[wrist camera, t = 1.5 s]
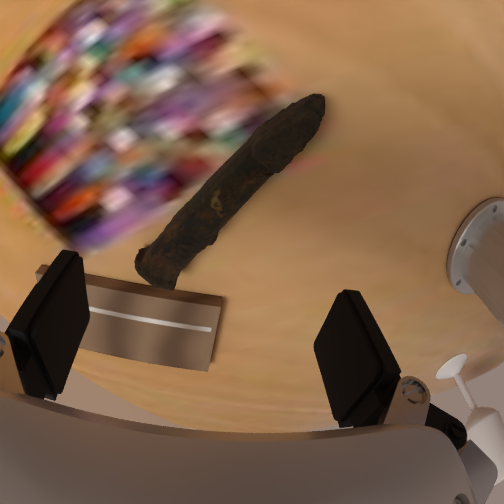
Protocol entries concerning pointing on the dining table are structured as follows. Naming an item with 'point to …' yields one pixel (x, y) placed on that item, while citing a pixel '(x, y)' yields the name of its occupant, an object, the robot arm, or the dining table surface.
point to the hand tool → (229, 191)
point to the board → (149, 323)
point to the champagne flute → (479, 418)
